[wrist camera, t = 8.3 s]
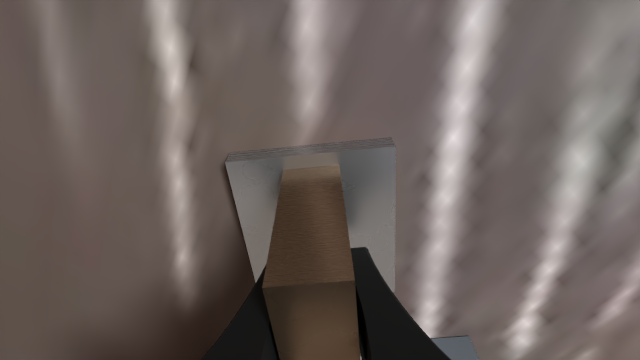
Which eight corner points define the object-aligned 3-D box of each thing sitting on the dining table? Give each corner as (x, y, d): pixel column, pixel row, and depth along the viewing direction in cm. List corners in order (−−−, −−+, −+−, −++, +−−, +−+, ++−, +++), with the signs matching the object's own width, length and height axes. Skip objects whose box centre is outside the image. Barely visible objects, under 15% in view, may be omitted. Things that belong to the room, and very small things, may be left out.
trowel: (391, 137, 13) (451, 254, 7) (391, 278, 16) (432, 433, 10) (229, 153, 13) (163, 278, 7) (263, 288, 16) (235, 446, 11)
